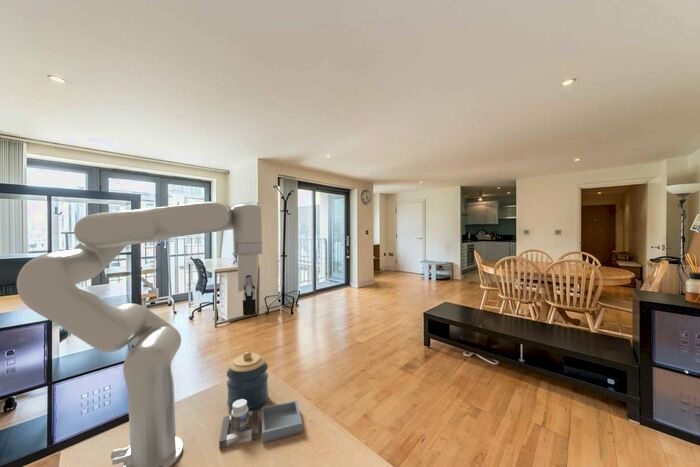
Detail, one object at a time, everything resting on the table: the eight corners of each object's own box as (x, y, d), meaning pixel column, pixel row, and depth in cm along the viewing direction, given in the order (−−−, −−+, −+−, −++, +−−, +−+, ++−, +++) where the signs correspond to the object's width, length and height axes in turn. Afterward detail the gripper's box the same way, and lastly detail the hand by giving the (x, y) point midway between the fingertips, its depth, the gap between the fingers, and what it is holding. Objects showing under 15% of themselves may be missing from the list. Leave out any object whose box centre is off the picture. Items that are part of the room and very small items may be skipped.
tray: (262, 443, 76) (262, 432, 75) (261, 417, 86) (261, 407, 86) (302, 433, 79) (302, 423, 79) (296, 409, 90) (296, 400, 89)
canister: (218, 408, 90) (217, 355, 90) (250, 387, 102) (249, 340, 101) (245, 422, 84) (244, 365, 83) (276, 398, 95) (275, 348, 95)
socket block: (219, 448, 74) (219, 441, 74) (223, 423, 83) (223, 416, 83) (258, 439, 77) (258, 432, 77) (258, 415, 87) (258, 409, 87)
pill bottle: (242, 438, 77) (242, 409, 77) (228, 435, 78) (227, 407, 78) (252, 426, 82) (251, 398, 82) (238, 424, 83) (237, 397, 83)
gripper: (235, 247, 83) (236, 302, 84) (231, 252, 67) (233, 321, 68) (261, 246, 86) (262, 299, 87) (263, 251, 70) (265, 317, 70)
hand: (249, 309), depth 77 cm, fingers open, 9 cm apart
